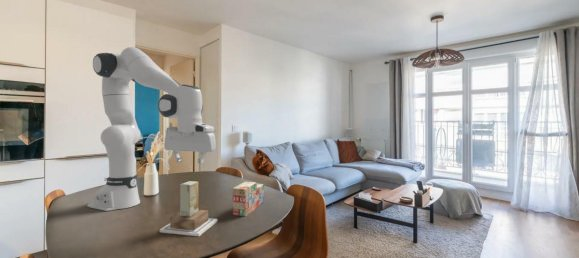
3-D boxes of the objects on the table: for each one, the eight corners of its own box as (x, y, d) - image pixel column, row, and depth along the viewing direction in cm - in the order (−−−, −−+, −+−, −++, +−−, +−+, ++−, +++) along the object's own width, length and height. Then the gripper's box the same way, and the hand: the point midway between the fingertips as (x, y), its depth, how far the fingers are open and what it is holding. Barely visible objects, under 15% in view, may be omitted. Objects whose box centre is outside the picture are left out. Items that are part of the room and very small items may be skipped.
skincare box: (189, 217, 97) (189, 185, 97) (179, 216, 98) (179, 184, 98) (199, 211, 103) (199, 181, 103) (189, 210, 104) (189, 180, 104)
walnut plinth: (170, 228, 97) (170, 217, 97) (186, 218, 107) (186, 208, 107) (194, 230, 95) (194, 219, 95) (208, 220, 105) (208, 210, 105)
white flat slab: (159, 232, 96) (159, 229, 96) (182, 218, 109) (182, 215, 109) (199, 236, 92) (199, 233, 92) (217, 221, 106) (217, 218, 106)
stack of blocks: (252, 200, 134) (252, 177, 134) (264, 202, 132) (264, 178, 132) (232, 215, 114) (232, 187, 113) (245, 217, 112) (245, 188, 111)
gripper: (160, 126, 98) (160, 162, 99) (209, 127, 94) (209, 165, 95) (171, 126, 105) (171, 160, 105) (217, 127, 101) (217, 162, 101)
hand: (189, 162), depth 100 cm, fingers open, 8 cm apart
